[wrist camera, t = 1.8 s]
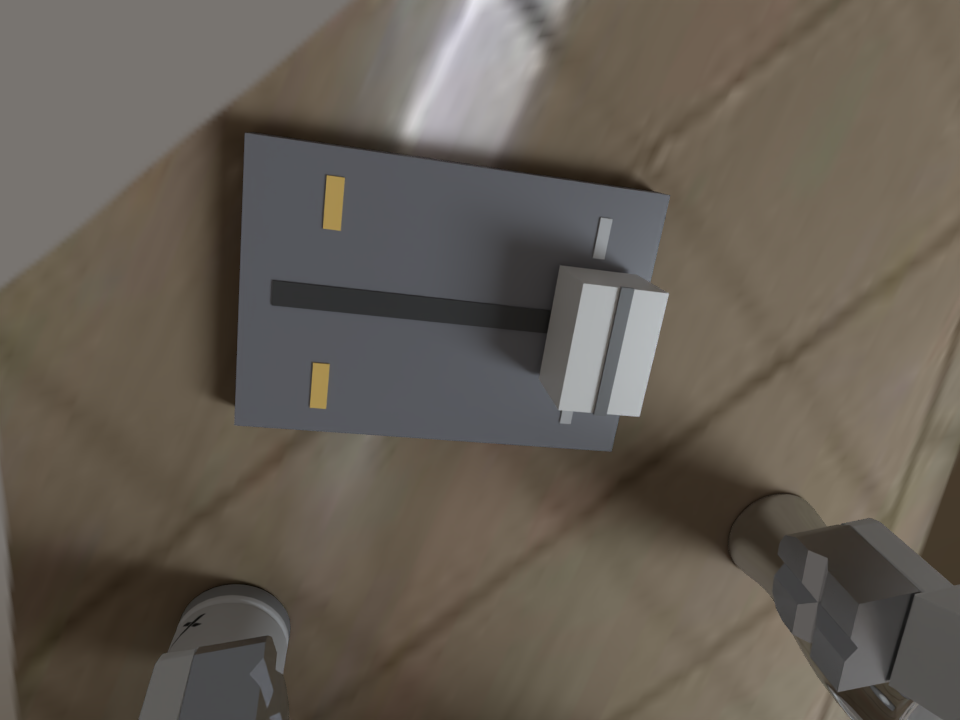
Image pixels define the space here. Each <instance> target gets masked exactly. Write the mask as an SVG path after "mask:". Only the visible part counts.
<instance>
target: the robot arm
mask: <svg viewBox="0 0 960 720" xmlns="http://www.w3.org/2000/svg"><path fill="white" fill-rule="evenodd" d="M778 555H779V557H780V558H781V559H782V561H783V562H784V564H783V565H782V567H781V568H780V569H779V570H778V571H777V573H776V574H775V575H774V580H773V589H772V593H773V597H774V601H775V605H776V609H777V611H778V613H779V615H780V617H781V619H782V621H783V622H784V624H785V625H786V626H787V628H788V629H789V630H790V632H791V633H792V634H793V635H795V636H797V637H799V638H801V639H803V640H805V641H806V642H808V643H810V658H811V659H812V660H813V661H814V663H815V664H816V665H817V667H818V668H819V669H820V670H821V672H822V673H823V674H824V676H825V677H826V678H827V679H828V681H829V682H830V683H831V684H832V686H833V687H834V688H835V690H836V691H837V692H841V691H846V690H851V689H856V688H861V687H866V686H871V685H876V684H881V683H886V682H889V686H891V687H892V688H894V689H895V690H897V691H899V692H900V693H902V694H903V695H905V696H906V697H908V698H910V699H911V700H913V701H914V702H916V703H917V704H919V705H921V706H922V707H924V708H925V709H927V710H928V711H930V712H932V713H933V714H935V715H936V716H938V717H939V718H941V719H943V720H960V585H956V586H953V585H952V584H951V583H950V582H949V581H948V580H947V579H945V578H944V577H943V576H942V575H941V574H940V573H938V572H937V571H936V570H935V569H934V568H933V567H932V566H930V565H929V564H928V563H927V562H926V561H925V560H923V559H922V558H921V557H920V556H919V555H918V554H917V553H915V552H914V551H913V550H912V549H911V548H910V547H909V546H907V545H906V544H905V543H904V542H903V541H902V540H901V539H899V538H898V537H897V536H896V535H895V534H894V533H892V532H891V531H890V530H889V529H888V528H887V527H886V526H884V525H883V524H882V523H881V522H879V521H877V520H875V519H872V518H867V519H862V520H857V521H852V522H847V523H842V524H841V525H833V526H828V527H823V528H818V529H813V530H808V531H803V532H798V533H793V534H788V535H785V536H784V537H783V539H782V540H781V541H780V544H779V550H778ZM276 659H277V651H276V648H275V645H274V642H273V638H272V637H271V636H269V635H267V636H261V637H255V638H249V639H243V640H237V641H231V642H225V643H220V644H214V645H208V646H202V647H199V648H194V649H188V650H182V651H176V652H170V653H164V654H162V655H161V656H160V658H159V659H158V661H157V662H156V664H155V666H154V669H153V673H152V676H151V679H150V683H149V686H148V689H147V693H146V696H145V699H144V703H143V706H142V709H141V713H140V716H139V719H138V720H289V702H288V696H287V689H286V684H285V680H284V676H283V674H282V673H280V672H278V671H277V670H276Z"/></svg>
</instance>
